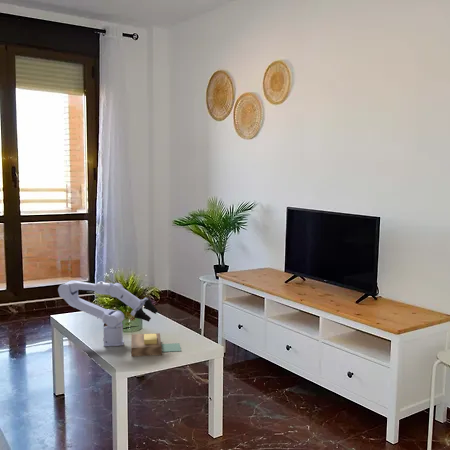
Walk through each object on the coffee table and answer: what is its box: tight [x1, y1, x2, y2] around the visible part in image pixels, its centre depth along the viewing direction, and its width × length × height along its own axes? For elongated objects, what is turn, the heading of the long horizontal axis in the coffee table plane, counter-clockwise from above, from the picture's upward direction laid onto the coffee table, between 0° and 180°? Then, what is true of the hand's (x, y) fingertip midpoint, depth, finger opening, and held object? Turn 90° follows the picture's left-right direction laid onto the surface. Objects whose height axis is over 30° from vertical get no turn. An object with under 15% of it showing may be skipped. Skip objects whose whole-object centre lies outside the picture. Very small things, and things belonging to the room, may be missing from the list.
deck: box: [130, 332, 163, 357], centre depth 248 cm, size 14×20×4 cm
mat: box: [161, 342, 182, 353], centre depth 249 cm, size 9×11×1 cm
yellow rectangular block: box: [143, 333, 157, 344], centre depth 247 cm, size 6×9×2 cm, turn 10°
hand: (153, 316), depth 249 cm, fingers open, 7 cm apart
